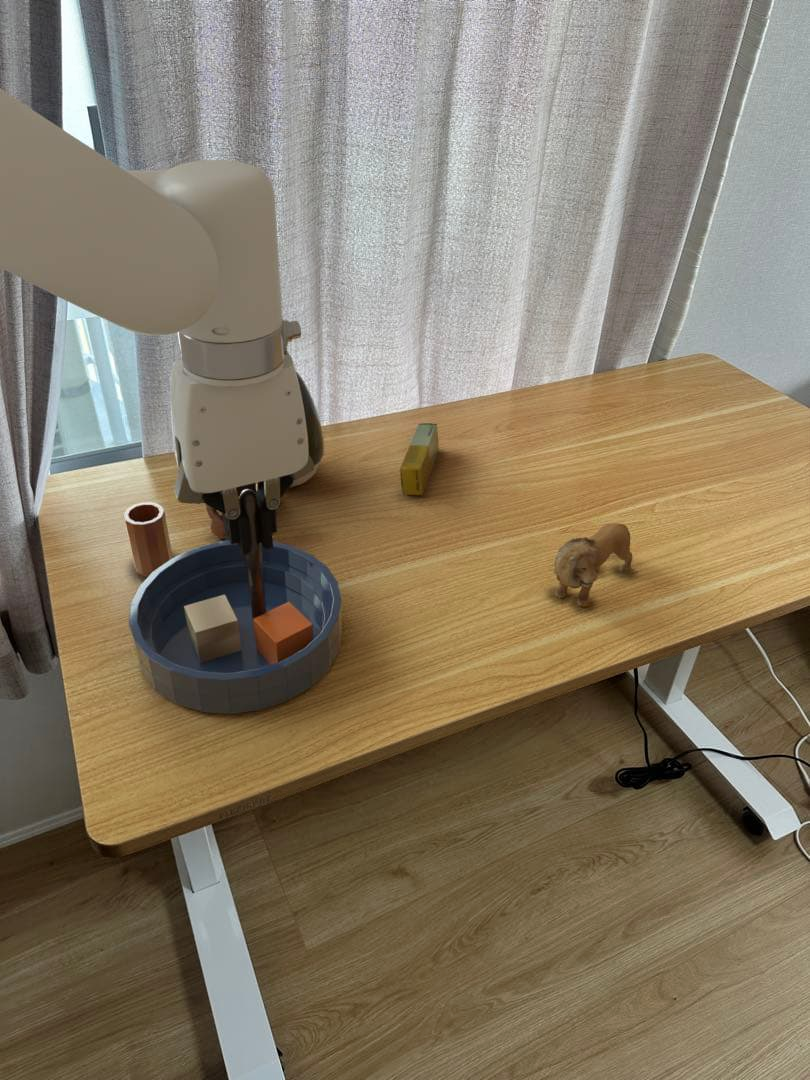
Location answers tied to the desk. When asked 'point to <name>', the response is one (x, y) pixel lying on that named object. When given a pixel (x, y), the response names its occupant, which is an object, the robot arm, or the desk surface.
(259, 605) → the stick
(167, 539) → the holder
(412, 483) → the medication box
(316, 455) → the pump dispenser
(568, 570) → the lion figurine
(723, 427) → the desk surface
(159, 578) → the bowl
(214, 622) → the pale block
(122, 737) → the desk surface
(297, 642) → the orange block
